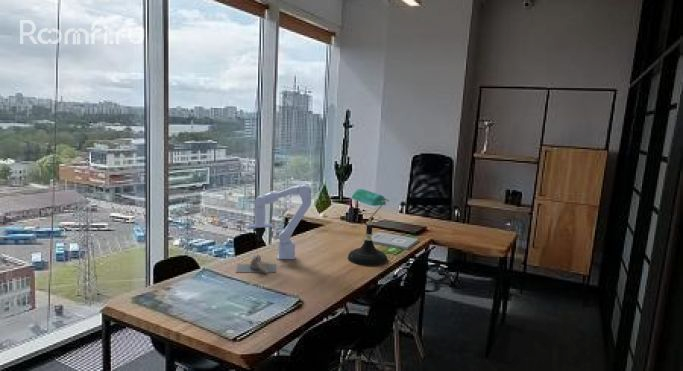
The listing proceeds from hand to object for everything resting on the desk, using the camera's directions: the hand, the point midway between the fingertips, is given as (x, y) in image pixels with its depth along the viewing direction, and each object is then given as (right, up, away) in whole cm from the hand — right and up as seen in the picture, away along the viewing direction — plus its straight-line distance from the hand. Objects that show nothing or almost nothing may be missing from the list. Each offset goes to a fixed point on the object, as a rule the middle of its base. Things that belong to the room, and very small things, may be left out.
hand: (259, 240), depth 245 cm
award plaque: (+80, -7, +47) cm, 94 cm away
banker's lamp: (+62, -12, +6) cm, 63 cm away
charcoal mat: (+2, -12, -19) cm, 22 cm away
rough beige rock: (+3, -13, -21) cm, 24 cm away
